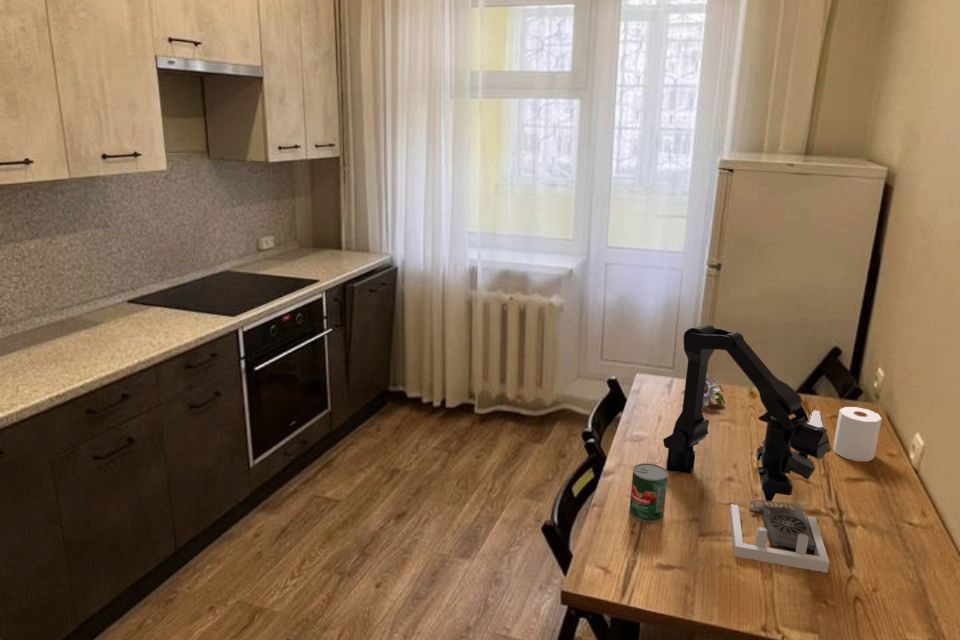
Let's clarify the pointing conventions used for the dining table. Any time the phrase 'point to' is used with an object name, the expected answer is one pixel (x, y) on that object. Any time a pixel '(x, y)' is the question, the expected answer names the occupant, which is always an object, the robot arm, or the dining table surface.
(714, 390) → the passion flower
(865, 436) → the toilet paper
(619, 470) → the dining table surface
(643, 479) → the canned tomato
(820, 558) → the u-shaped peg rack
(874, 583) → the dining table surface
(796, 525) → the graphics card
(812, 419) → the kitchen knife
